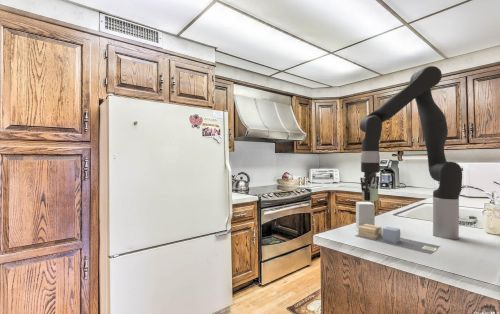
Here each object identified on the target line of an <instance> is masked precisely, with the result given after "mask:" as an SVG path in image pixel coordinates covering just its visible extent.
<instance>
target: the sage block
mask: <svg viewBox="0 0 500 314" xmlns="http://www.w3.org/2000/svg"><path fill="white" fill-rule="evenodd" d="M361 201H363V202H366V201H365V200H364V191H362V190H361ZM377 201H379V188H378V189H372V188H371V189H370V201H369V202H371V203H374V202H377Z"/></svg>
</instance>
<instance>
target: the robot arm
mask: <svg viewBox="0 0 500 314" xmlns="http://www.w3.org/2000/svg"><path fill="white" fill-rule="evenodd" d="M442 77H443V73H442V70H441V69H440V68H439V67H437V66H434V65H429V66H425V67H423V68H421V69H419V70H417V71H415V72H414V73H413V74H411V76H410V79H409V84H408V85H407V86H405V87H404V88H403V89H401V90H400V91H398V92H397V93H395V94H393V95H392V96H391V97H388V99H386V100H385V102H383V103H382V104H381V105H380V106H378V108H376V109H375V110H374V111H372V112H370V113H369V114H367V115H366V116H365V117H364V118H362V119H361V121H360V122H359V130H361V132H363V133H364V137H363V139H362V141H361V154H360V155H361V156H360V171H361V173H363V174H364V175H363V177H360V179H359V180H360V186H361V189H360V190H361V192H362V191H364V200H365V201H364V200H363V201H364V202H371V201H370V189H371V188H372V189H378V190H379V184H380V176H378V175H377V173H380V171H381V170H380V169H381V168H380V165H381V163H380V161H381V160H380V158H381V156H380V140H381V136H382V135H381V134H382V131H383V130H382V129H383V123H385V122H387V121H388V120H390V119H392V118H394V116H396V114H397V113H399V112H400V111H402V110H403V109H404V108H405V107H406V106H407V105H409V104H410V103H412V101H414V100H415V102H416V107H417V111H418V112H417V113H418V115H419V119H420V126H421V130H422V135H423V138H424V143H425V148H426V155H427V164H428V166H427V167H428V173H429V176H430V177H431V179H432V180H434V181H437V182H439V185H438V188H437V189H435V190H433V192H432V236H434V237H436V238H440V239H445V240H446V239H447V240H451V241H452V240H453V241H454V240H455V241H456V240H458V239H459V236H460V194H461V193H462V186H463V170H462V167H461V166H460V164H458V163H457V162H455V161H447V159H446V155H445V154H446V153H445V144H446V142H447V138H448V132H449V128H448V123H447V119H446V116H445V114H444V112H443V111H442V110H441V108H440V107H439V106H438V104H437V103H436V102H435V100H434V98H433V95H432V94H433V93H432V88H435V86H437V85H438V84H439V83H440V82H441V80H442V79H443V78H442Z"/></svg>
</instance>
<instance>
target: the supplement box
mask: <svg viewBox="0 0 500 314" xmlns="http://www.w3.org/2000/svg"><path fill="white" fill-rule="evenodd" d="M375 209H376V208H375V204H374V202H372V201H356V202H355V226H356V228H357V230H359V226H361V225H364V224H369V225H374V226H376V225H375V224H376V223H375V211H376V210H375Z"/></svg>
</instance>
